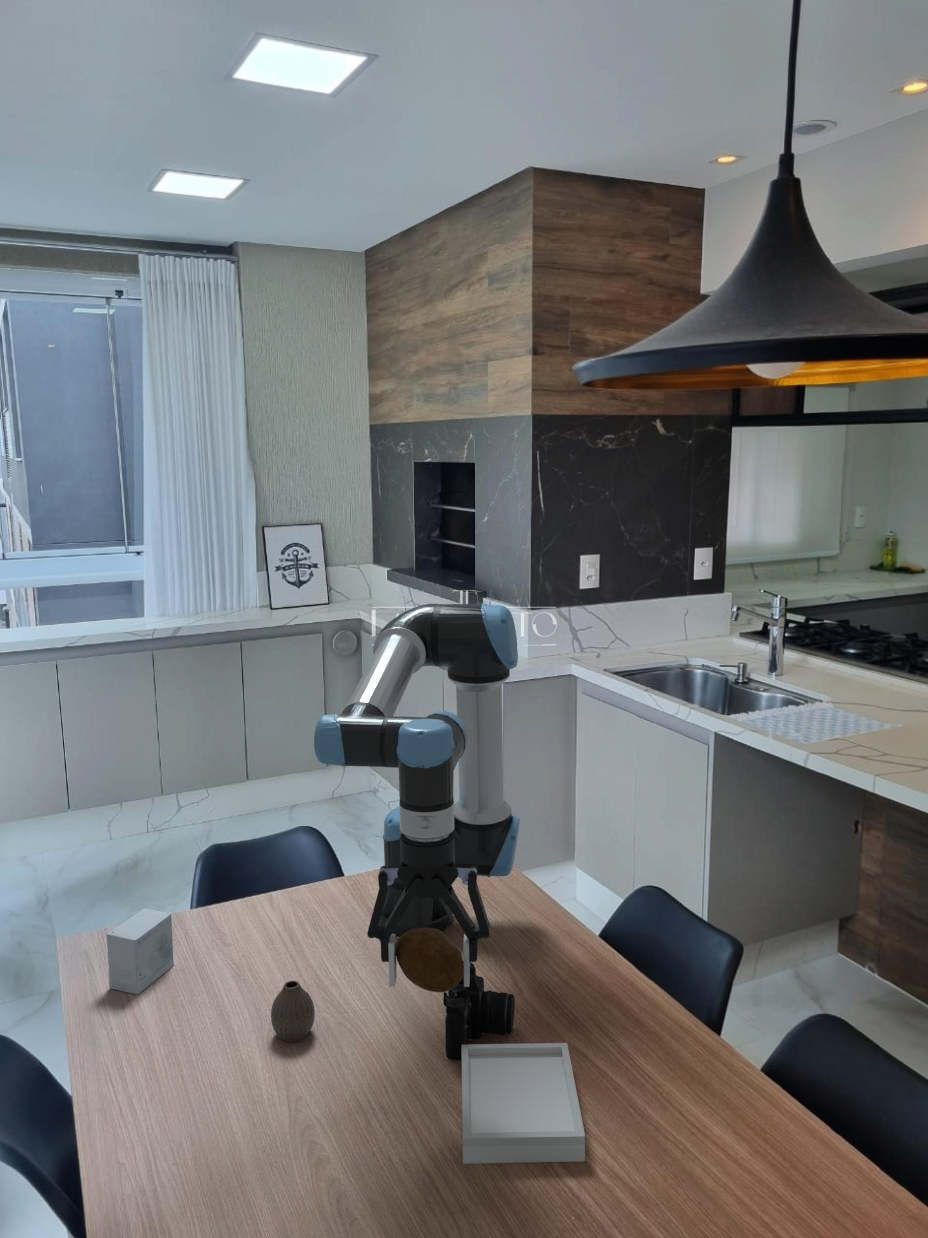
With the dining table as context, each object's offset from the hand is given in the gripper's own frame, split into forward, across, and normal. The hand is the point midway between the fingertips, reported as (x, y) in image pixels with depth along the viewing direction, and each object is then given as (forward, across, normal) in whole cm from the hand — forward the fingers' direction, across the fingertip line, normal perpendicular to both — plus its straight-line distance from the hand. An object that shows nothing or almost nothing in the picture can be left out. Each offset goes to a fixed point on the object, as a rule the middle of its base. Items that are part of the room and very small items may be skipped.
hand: (429, 981), depth 134 cm
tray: (+18, +12, -3) cm, 22 cm away
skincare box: (+18, -54, +32) cm, 65 cm away
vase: (+18, -23, +15) cm, 33 cm away
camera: (+18, +7, +15) cm, 24 cm away
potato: (0, 0, 0) cm, 1 cm away
